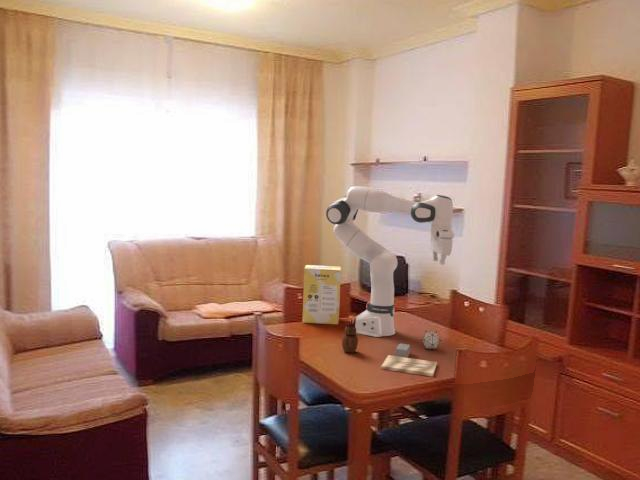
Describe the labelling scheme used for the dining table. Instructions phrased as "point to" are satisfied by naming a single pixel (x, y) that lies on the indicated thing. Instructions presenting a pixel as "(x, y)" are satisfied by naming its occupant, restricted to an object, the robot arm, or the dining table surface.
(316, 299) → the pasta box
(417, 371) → the board
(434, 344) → the grey spiky ball
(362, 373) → the dining table surface
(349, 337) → the wooden figurine
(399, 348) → the sanding block
